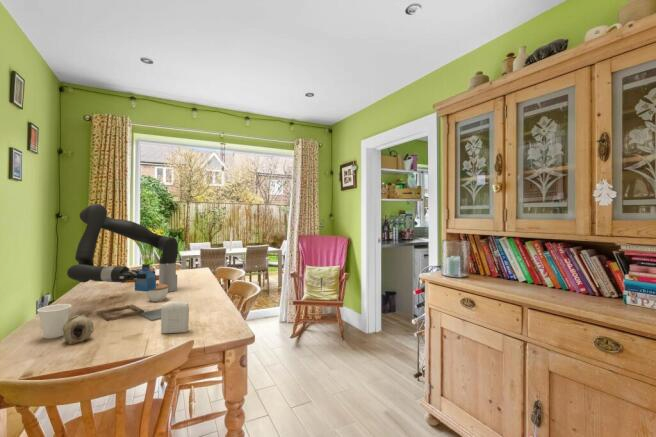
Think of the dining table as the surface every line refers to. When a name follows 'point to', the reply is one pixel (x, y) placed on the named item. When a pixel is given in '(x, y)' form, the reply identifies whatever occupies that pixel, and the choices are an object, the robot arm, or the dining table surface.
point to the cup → (53, 319)
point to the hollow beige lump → (77, 329)
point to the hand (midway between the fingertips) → (150, 274)
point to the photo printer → (174, 317)
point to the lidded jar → (158, 292)
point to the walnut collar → (107, 317)
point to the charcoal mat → (152, 314)
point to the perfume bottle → (146, 280)
